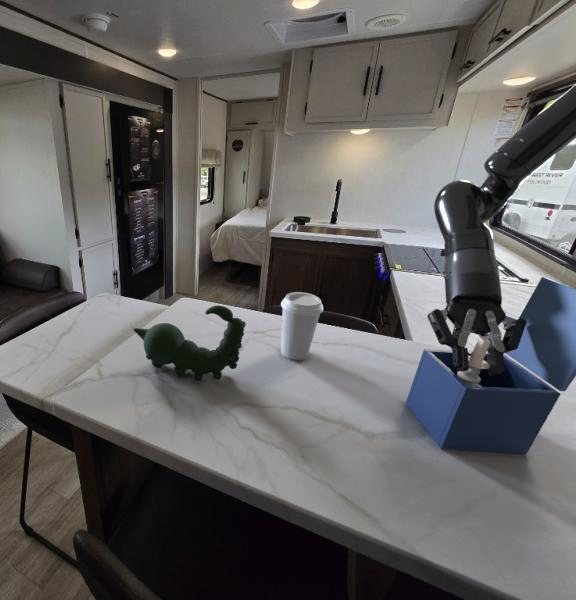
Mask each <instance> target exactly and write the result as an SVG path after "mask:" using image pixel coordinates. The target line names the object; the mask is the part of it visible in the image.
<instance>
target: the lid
mask: <svg viewBox="0 0 576 600" xmlns="http://www.w3.org/2000/svg"><path fill="white" fill-rule="evenodd" d="M520 318H522V319H525V320H526V326H525V329H524V332H523V334H522V337H521V340H520V343H519V346H518V349H516V350H513V351H510V352H507V353H505V355H506V356H508V357H509V358H510V359H512V360H513V361H515V362H516V363H519V365H521V366H522V367H523V368H525V369H526V370H528V371H529V372H531V373H532V374H534V375H535V376H537V377H539V379H541V380H542V381H544V382H545V383H547V384H548V385H551V387H552V388H553V387H554V389H555V390H558V392H566V391H567V390H568V388H569V386H570V385H571V384H572V382H573V381H574V380H575V378H576V287H572V286H570V285H567V284H565V283H562V282H559V281H556V280H555V279H552V278H549V277H547V276H546V277H545V276H542V277H541V278H540V280H539V281H538V283H537V285H536V287H535V289H534V290H533V292H532V294H531V296H530V297H529V299H528V301H527V302H526V304H525V306H524V308H523V310H522V312H521V313H520V316H519V317H518V319H520Z"/></svg>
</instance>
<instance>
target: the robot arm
mask: <svg viewBox="0 0 576 600" xmlns="http://www.w3.org/2000/svg"><path fill="white" fill-rule="evenodd" d="M574 140H576V84H574V85H573V86H572V87H571V88H569V89H568V90H567V91H566V92H565V93H564V94H562V95H560V96H559V97H558V98H557V99H556V100H555V101H553V102H552V103H551V104H549V105H548V106H547V107H546V108H544V109H543V110H541V111H540V112H539V113H538V114H537V115H535V116H534V117H533V118H531V120H529V121H528V122H527V123H525V124H524V126H522V127H521V128H520V129H519V130H518V131H516V132H515V133H514V134H513V135H512V136H511V137H510V138H509V139H507V141H506V142H504V143H503V144H502V145H501V146H500V147H499V148H498V149H496V150H495V151H494V152H493V153H492V154H491V155H490V156H489V157H488V158H487V159H486V161H485V162H484V163H483V168H484V170H485V172H486V174H487V177H486V178H485V180H484V182H482V184H481V186H478V185H477V184H475V183H474V182H472V181H468V180H463V179H460V180H459V179H458V180H454V181H451V182H449V183H447V184H445V185H444V186H443V187H442V188H441V189H440V190H439V192H437V194H436V197H435V200H434V203H433V210H434V212H433V213H434V215H435V220H436V222H437V225H438V228H439V232H440V233H441V236H442V237H443V241H444V267H443V268H444V271H443V273H444V274H443V279H444V288H445V290H444V291H445V303H446V306H445V308H444V309H438V308H435V309H433V310H432V311H431V312H429V313H427V315H426V318H427V319H428V322H429V324H430V326H431V328H432V330H433V333H434V335H435V337H436V340H437V341H438V343H439V344H440V345H441V346H447V347H449V348H450V349H451V351H452V354H453V365H454V367H457V371H461V372H464V371H467V370H468V369H469V361H468V351H469V348H468V347H466V346H467V344H468V340H469V336H470V335H471V334H474V335H477V336H478V338H479V337H483V338H485V337H486V339H488V340H489V341H490V344H489V347H488V350H487V352H488V353H489V354H487V355H486V356H487V363H488V364H489V365H490V368H488V375H489V376H494V377H495V376H499V375H501V374H502V372H504V370H505V366H504V357H503V354H504V355H505V354H506V353H507V352H510V351H513V350H516V349H518V346H519V343H520V340H521V337H522V334H523V332H524V329H525V326H526V320H525V319H522V318H520V319H519V318H517V319H516V318H514V317H512V316H508V315H506V312H505V311H504V309H503V307H502V303H503V295H502V287H501V278H500V269H499V263H498V260H497V257H496V251H495V242H494V235H493V232H492V230H491V229H490V228H489V227H488V225H486V222H487V221H490V220H491V219H492V218H493V217H495V216H496V215H498V213H499V212H500V211H501V210H502V209H503V208H504V206H505V205H506V204H507V203H508V201H509V200H510V199H511V197H512V196H513V195H514V194H515V193H516V192H517V190H518V189H519V188H520V186H521V185H522V184H523V183H524V181H525V180H527V179H528V178H529V177H531V175H533V173H536V172H537V171H538V170H539V169H541V167H543V166H544V165H545V164H546V163H547V162H549V161H550V160H551V159H553V158H554V157H555V156H556V155H558V153H560V152H561V151H562V150H563V149H564V148H566V147H567V146H568V145H570V144H571V142H573V141H574ZM447 319H448V320H449V321H450V322H451V323H452V325H453V330H452V332H451V329H450V327H449V325H448V323H447ZM501 324H503V330H504V331H505V332H504V333H503V334H502V332H501V330H500V328H499V327H500V325H501ZM502 336H503V337H502Z"/></svg>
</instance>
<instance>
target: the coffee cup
mask: <svg viewBox="0 0 576 600" xmlns="http://www.w3.org/2000/svg"><path fill="white" fill-rule="evenodd" d="M280 307H281V308H282V316H281V317H282V318H281V319H282V320H281V339H280V341H281V342H280V352H281V354H282V355H283V356H284V357H285V358H288V359H290V360H295V361H301V360H305V359H307V358H308V356H309V352H310V350H311V345H312V342H313V339H314V336H315V332H316V329H317V326H318V323H319V318H320V315H321V314H322V313H323V312H324V305H323V303H322V300H321V298H320V297H318V296H317V295H315V294H312V293H309V292H302V291H295V292H289V293H287V294H286V295H285V297H284V298H282V300H281V302H280Z"/></svg>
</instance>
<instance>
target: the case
mask: <svg viewBox="0 0 576 600" xmlns="http://www.w3.org/2000/svg"><path fill="white" fill-rule="evenodd" d="M472 352H473V350H472V351H471V350H470V351H469V350H468V356H471V354H472ZM487 354H489V353H488V352H486V355H487ZM486 355H485V357H484V361H486V362H487V356H486ZM503 357H504V366H505V370H504V372H502V374H501V375H499V376H495V377H494V376H489V375H488V369H481V370H480V374H479V375H478V376H479V377H480V378H481V381H480V383H478V384H479V385H481V386H482V387H475V386H467V385H466V384H465V383H464V382H463V381H462V380H461V379H460V378H459V377H457V372H458V371H457V367H454V365H453V354H452V350H446V349H445V350H444V349H423V351H422V354H421V357H420V360H419V362H418V365H417V369H416V372H415V374H414V376H413V377H414V378H413V380H412V383H411V385H410V389H409V392H408V394H407V398H406V401H405V405H406V406H407V407H408V409H409V410H410V411H411V412H412V414H413V415H414V416H415V417H416V419H417V420H418V422H419V423H420V424H421V425H422V426H423V428H424V429H425V431H426V432H427V433H428V434H429V436H430V437H431V438H432V440H433V441H434V442H435V444H436V445H437V446H438V447H439V449H441V450H451V451H465V452H466V451H468V452H480V453H481V452H483V453H498V454H511V455H528V452H529V451H530V449H531V447H532V446H533V444H534V442H535V440H536V438H537V437H538V436H539V433H540V432H541V430H542V428H543V426H544V425H545V423H546V421H547V419H548V417H549V416H550V415H551V412H552V411H553V409H554V407H555V405H556V403H557V402H558V400H559V399H560V396H561V393H560V391H557V389H556V388H553V386H550V384H548V383H547V382H545V381H544V380H543V379H541V378H540V377H539V378H538V376H537V375H535V374H534V373H533V372H531V371H530V370H528V369H527V368H525V367H524V366H523V365H521V364H520V363H519V364H518V362H517V361H515V360H514V359H512V358H511V357H510V356H508V355H507V354H505V353H504V354H503Z"/></svg>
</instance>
